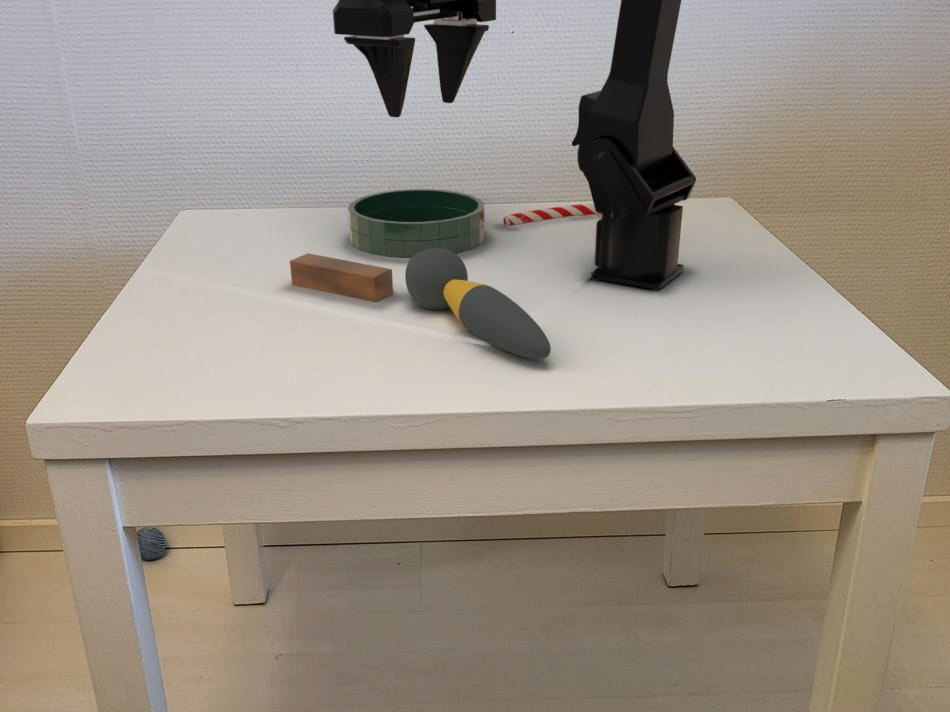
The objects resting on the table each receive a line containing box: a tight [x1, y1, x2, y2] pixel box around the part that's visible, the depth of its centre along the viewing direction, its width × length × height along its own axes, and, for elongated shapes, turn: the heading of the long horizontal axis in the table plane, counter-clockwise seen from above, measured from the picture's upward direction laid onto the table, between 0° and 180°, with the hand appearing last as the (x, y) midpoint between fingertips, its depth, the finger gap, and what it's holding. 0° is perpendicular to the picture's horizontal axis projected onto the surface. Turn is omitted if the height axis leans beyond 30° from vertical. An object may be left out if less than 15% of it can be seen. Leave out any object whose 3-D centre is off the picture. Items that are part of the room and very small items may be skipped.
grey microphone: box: [404, 248, 552, 360], centre depth 76 cm, size 20×5×5 cm, turn 38°
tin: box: [347, 188, 485, 259], centre depth 97 cm, size 13×13×4 cm
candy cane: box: [502, 203, 602, 226], centre depth 103 cm, size 8×1×15 cm
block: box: [289, 252, 394, 303], centre depth 84 cm, size 9×2×2 cm, turn 59°
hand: (422, 109), depth 95 cm, fingers open, 9 cm apart
